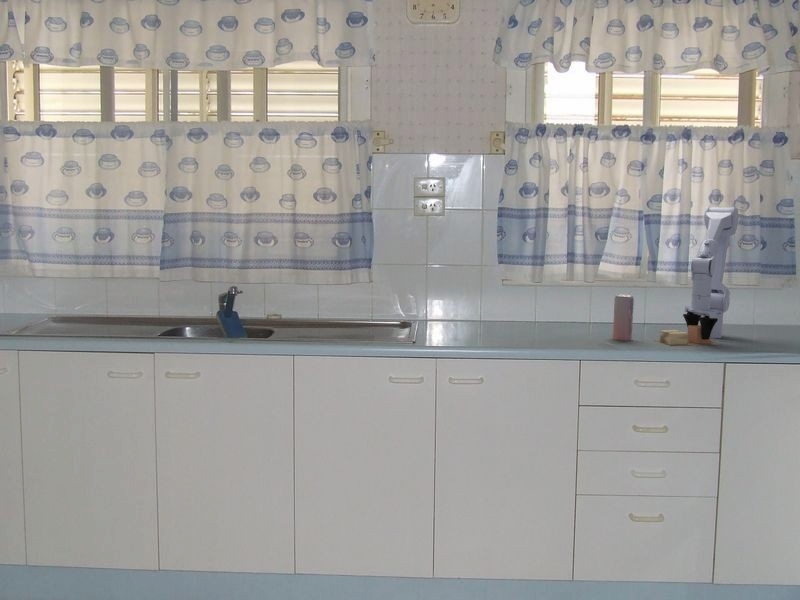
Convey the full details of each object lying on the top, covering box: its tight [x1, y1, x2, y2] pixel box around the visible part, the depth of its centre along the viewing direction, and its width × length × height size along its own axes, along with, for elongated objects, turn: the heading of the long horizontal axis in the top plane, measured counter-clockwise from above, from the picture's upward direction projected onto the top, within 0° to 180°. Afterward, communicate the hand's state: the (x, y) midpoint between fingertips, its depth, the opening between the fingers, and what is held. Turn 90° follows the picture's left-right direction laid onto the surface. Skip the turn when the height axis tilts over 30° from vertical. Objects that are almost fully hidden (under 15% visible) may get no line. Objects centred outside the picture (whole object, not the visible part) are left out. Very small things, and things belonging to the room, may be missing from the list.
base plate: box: [654, 339, 720, 347], centre depth 264 cm, size 10×18×1 cm, turn 104°
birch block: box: [659, 329, 688, 345], centre depth 263 cm, size 6×6×4 cm
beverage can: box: [612, 294, 635, 342], centre depth 268 cm, size 6×6×15 cm
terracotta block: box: [687, 325, 712, 344], centre depth 265 cm, size 5×5×5 cm
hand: (698, 337), depth 265 cm, fingers open, 6 cm apart
